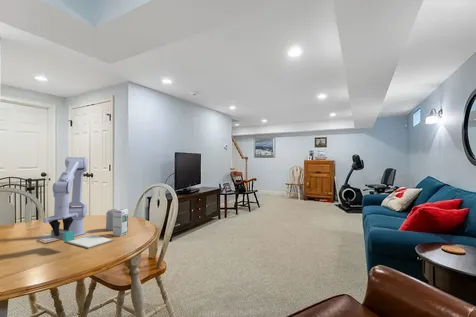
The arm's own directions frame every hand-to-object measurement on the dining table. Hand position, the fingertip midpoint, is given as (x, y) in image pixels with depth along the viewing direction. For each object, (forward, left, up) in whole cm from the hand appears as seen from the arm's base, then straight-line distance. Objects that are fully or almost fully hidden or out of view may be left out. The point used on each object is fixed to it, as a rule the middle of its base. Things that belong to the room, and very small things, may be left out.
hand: (61, 234), depth 119 cm
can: (-8, +34, -7) cm, 36 cm away
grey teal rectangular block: (+1, 0, -2) cm, 2 cm away
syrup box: (+5, +29, -7) cm, 30 cm away
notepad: (+2, +13, -7) cm, 15 cm away
